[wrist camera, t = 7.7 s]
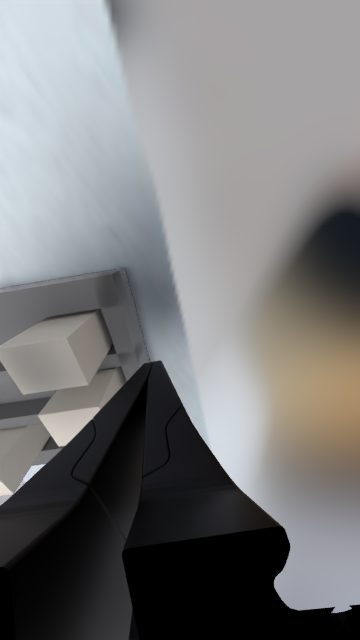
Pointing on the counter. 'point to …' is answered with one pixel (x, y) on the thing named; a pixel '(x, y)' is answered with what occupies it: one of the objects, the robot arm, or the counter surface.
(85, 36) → the counter surface
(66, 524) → the robot arm
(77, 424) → the beige rectangular block
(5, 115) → the counter surface
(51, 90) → the counter surface
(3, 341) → the switch bank
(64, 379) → the cream rectangular block
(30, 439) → the tab
